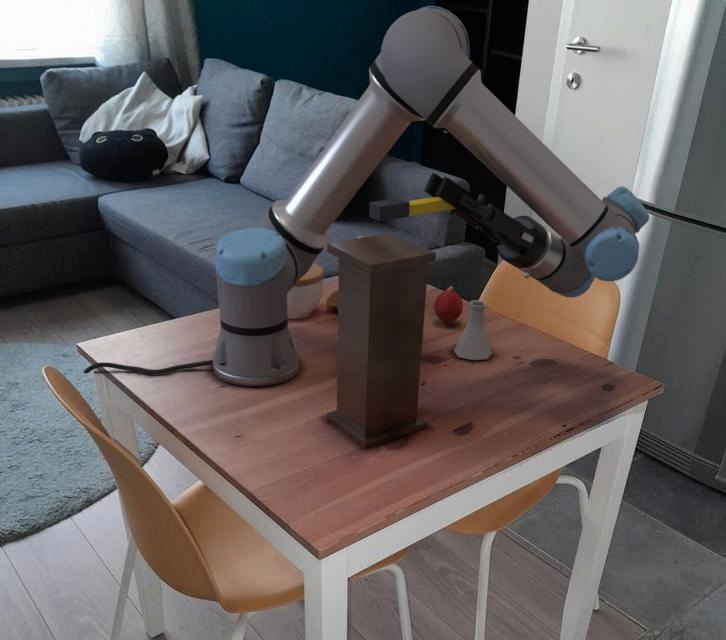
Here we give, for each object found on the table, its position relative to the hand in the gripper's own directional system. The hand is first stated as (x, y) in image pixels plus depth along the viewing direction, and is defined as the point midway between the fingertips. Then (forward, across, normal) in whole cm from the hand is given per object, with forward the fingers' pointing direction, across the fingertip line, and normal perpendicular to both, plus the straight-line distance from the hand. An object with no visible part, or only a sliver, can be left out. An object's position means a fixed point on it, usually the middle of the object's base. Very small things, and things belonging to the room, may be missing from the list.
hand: (435, 184), depth 112 cm
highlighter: (0, 0, -4) cm, 4 cm away
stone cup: (-34, +42, -22) cm, 58 cm away
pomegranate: (-42, +27, -17) cm, 53 cm away
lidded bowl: (-21, +48, -29) cm, 60 cm away
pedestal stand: (-10, 0, -35) cm, 37 cm away
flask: (-38, +13, -20) cm, 44 cm away
